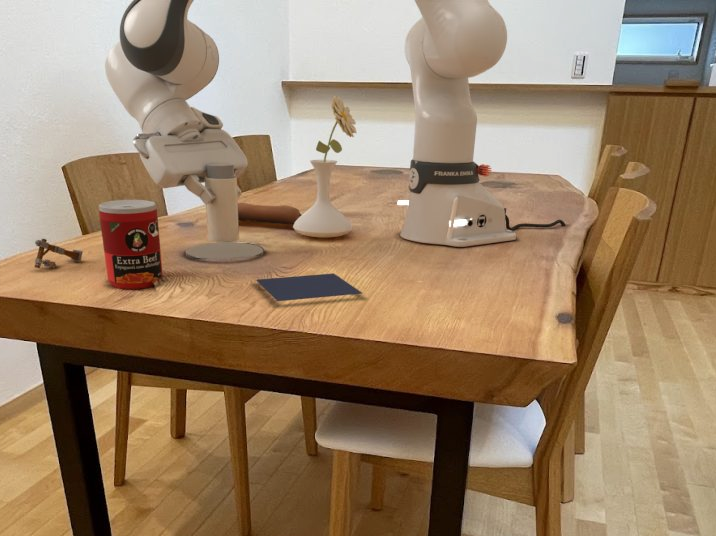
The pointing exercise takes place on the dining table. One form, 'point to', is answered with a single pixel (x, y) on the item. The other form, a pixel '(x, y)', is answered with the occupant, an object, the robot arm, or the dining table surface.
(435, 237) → the robot arm
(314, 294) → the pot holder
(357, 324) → the dining table surface
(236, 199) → the shaker
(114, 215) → the canned food
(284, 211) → the sunglasses case
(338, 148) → the flower in vase
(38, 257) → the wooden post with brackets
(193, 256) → the coaster
